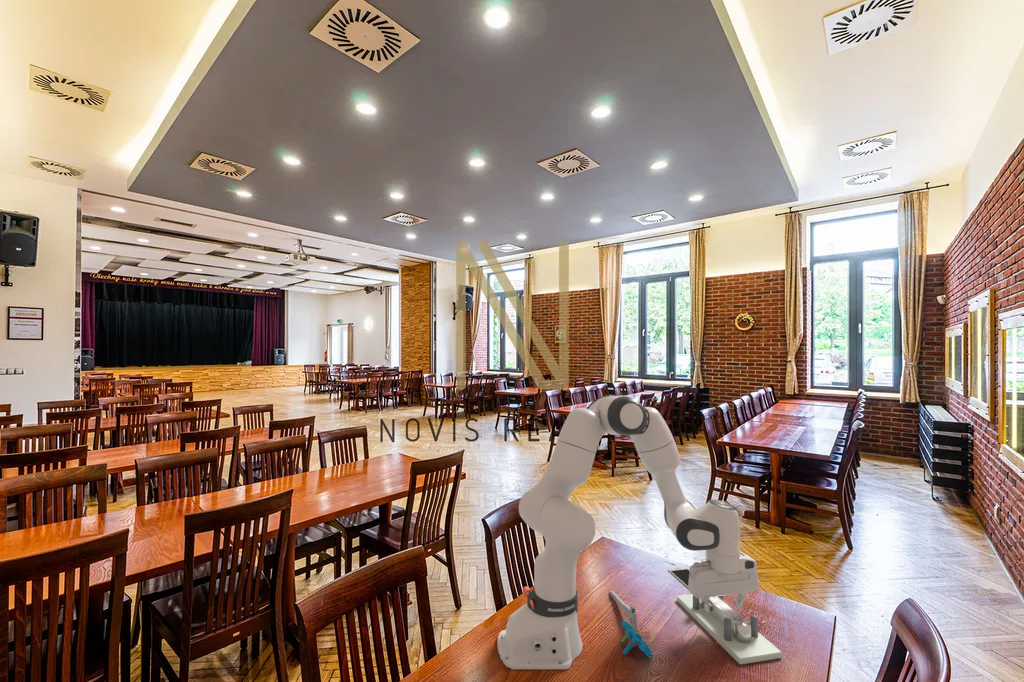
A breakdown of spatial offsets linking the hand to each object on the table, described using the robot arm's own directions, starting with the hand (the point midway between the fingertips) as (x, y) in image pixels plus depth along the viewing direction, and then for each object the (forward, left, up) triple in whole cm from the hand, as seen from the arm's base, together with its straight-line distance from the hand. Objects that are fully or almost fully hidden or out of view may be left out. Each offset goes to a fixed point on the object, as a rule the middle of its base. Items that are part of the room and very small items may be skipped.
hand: (723, 608), depth 123 cm
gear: (-29, -5, -5) cm, 30 cm away
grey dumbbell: (0, 0, -3) cm, 3 cm away
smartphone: (+5, +24, -6) cm, 25 cm away
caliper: (-25, +12, -5) cm, 28 cm away
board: (0, 0, -5) cm, 5 cm away
